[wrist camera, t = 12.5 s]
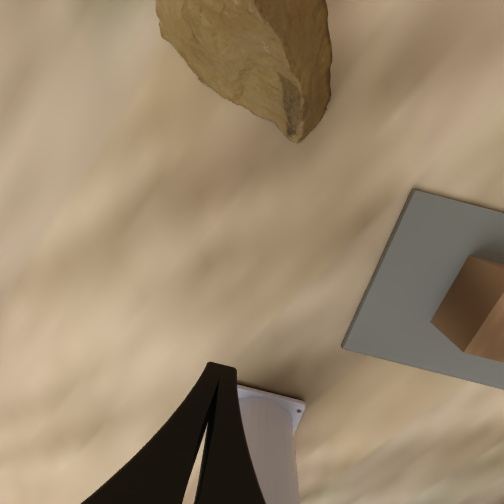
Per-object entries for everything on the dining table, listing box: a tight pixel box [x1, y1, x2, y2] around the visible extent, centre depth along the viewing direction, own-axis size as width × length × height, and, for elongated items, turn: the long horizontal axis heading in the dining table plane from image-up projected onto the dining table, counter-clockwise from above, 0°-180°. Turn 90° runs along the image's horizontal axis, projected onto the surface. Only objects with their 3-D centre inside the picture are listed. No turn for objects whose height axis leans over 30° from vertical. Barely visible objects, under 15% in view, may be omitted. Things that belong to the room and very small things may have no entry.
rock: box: [156, 0, 332, 143], centre depth 12 cm, size 11×9×10 cm
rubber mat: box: [341, 189, 504, 390], centre depth 19 cm, size 14×16×1 cm
